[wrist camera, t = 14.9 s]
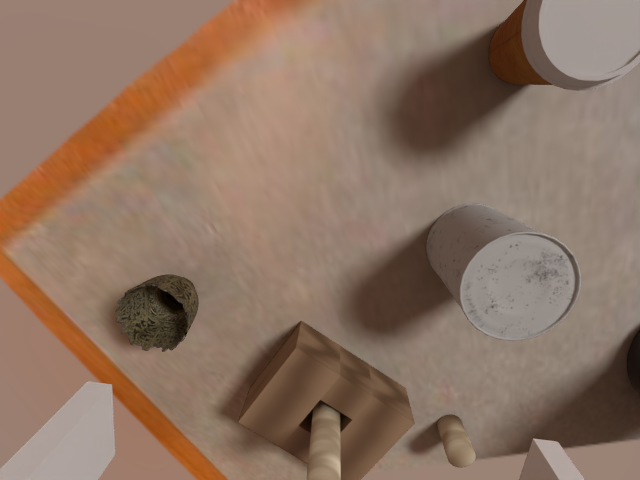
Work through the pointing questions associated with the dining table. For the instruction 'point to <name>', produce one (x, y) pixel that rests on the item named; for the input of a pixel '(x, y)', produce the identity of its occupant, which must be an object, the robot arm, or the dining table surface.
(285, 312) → the dining table surface
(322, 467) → the long pin
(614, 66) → the disposable coffee cup
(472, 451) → the short pin
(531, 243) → the speckled white tub
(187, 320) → the olive hollow patterned container
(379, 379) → the hole block
